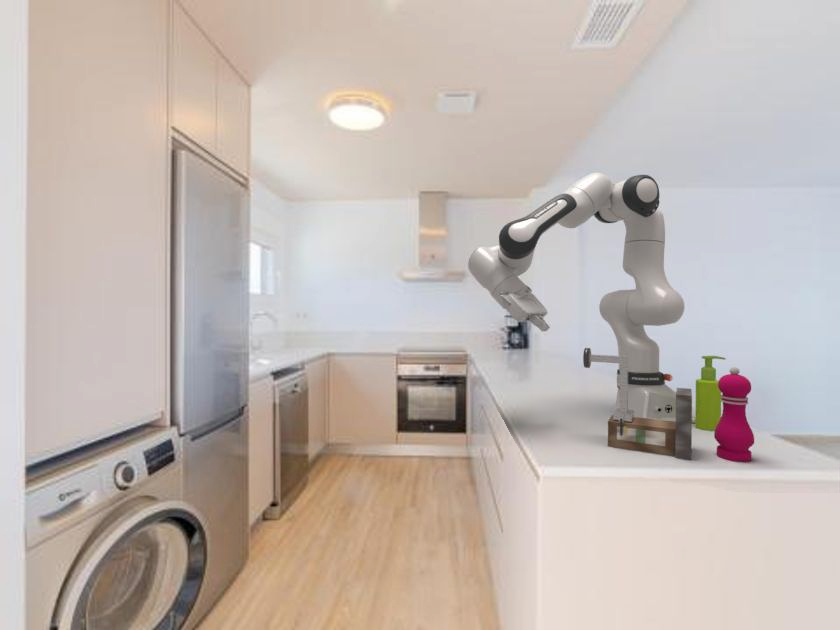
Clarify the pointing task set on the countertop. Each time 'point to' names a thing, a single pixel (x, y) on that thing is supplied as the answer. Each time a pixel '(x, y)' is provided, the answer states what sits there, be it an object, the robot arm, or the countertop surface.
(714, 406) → the soap dispenser
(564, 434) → the countertop surface
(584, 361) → the plunger
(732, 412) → the pepper mill
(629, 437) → the stand
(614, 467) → the countertop surface
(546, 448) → the countertop surface
